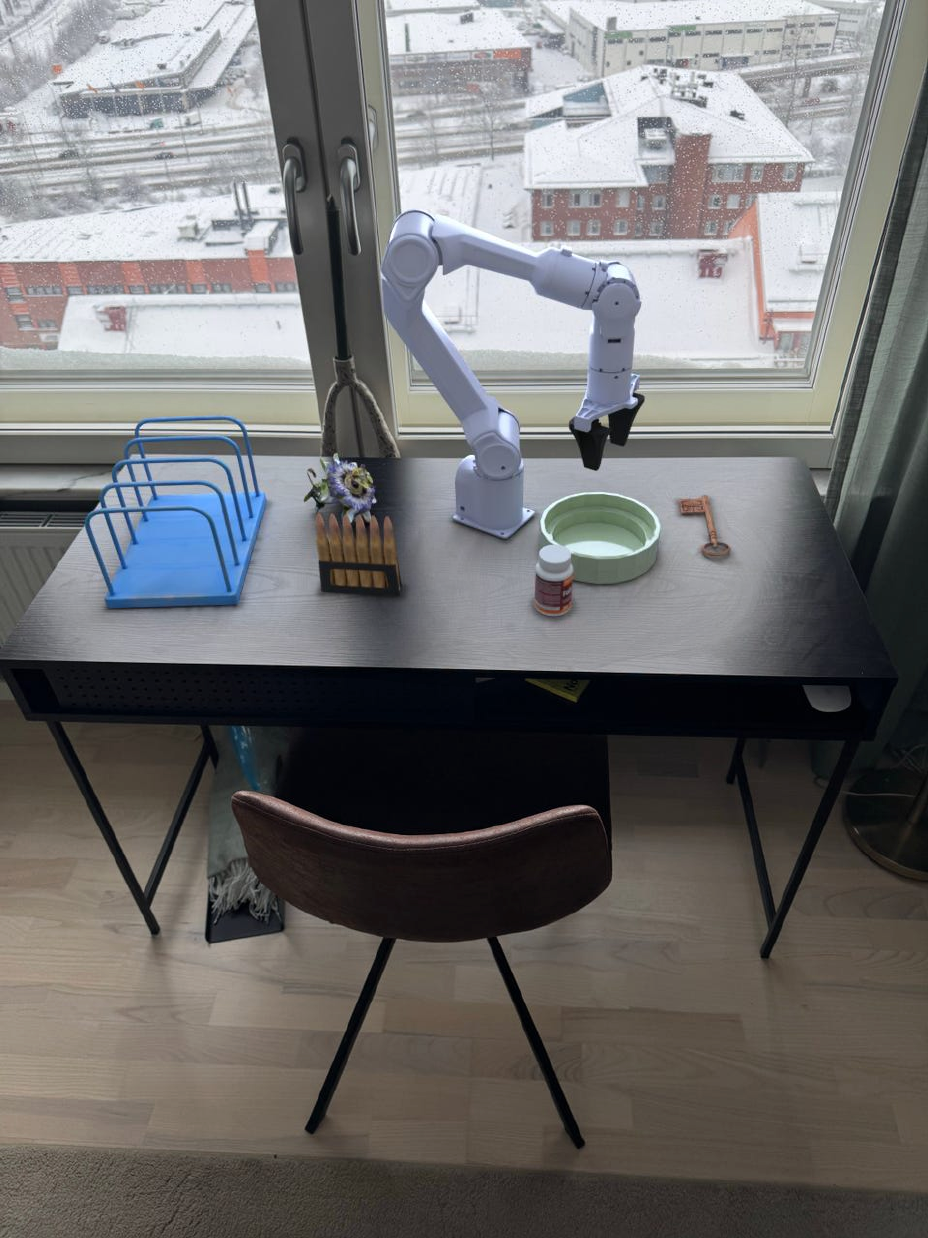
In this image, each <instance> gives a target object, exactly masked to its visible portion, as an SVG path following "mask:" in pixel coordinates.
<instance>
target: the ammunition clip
mask: <svg viewBox="0 0 928 1238" xmlns="http://www.w3.org/2000/svg"><path fill="white" fill-rule="evenodd" d="M315 516H316V515H315ZM328 522H329V523H328V530H329V537H328V534H327V529H326V524H325V520H324V518H323V517H322V514H321V513H320V512H318V514H317V516H316V517H315V531H316V532H315V533H316V549H317V550H316V551H317V556H318V561H317V562H318V570H319V571H318V572H319V573H318V574H319V581H320V592H322V593H329V594H331V593H333V594H347V595H348V594H349V595H350V594H351V595H365V596H385V597H400V596H401V593H402V591H403V583H402V578H401V577H402V575H401V571H400V570H401V569H400V564H399V563H400V562H399V557H398V551H397V543H396V540H395V534H394V528H393V524H392V521H391V518H389V516H388V515H387V516H385V517H384V522H383V541H382V538H381V533H380V527H379V523H378V519H377V518H376V517H375V515H371V521H370V523H369V539H368V536H367V531H366V527H365V522H363V519H362V517H361V516H360V515H358V517H357V521H356V525H355V533H356V535H355V536H356V540H355V536H354V532H353V527H352V523H350V520H349V518H348V516H347V515H346V514H345V515H344V517H343V521H342V538H341V533H340V527H339V524H338V523H339V522H338V521H337V518H336V516H335V514H334V513H331V514H330V515H329V519H328Z"/></svg>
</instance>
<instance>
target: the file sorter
mask: <svg viewBox="0 0 928 1238" xmlns="http://www.w3.org/2000/svg"><path fill="white" fill-rule="evenodd" d="M194 421H195V422H196V421H197V422H198V421H229V422H232V423H234V424H236V425H237V426H238V428H240V430H241V432H242V437H243V440H244V444H245V449H246V454H247V459H248V463H249V468H250V474H251V478H252V483H253V488H254V491H249V487H248V482H247V478H246V477H247V476H246V471H245V466H244V462H243V457H242V453H241V451H240V448H239V445H237V443H236V442H235V441H234V440H232V439H231V438H229V437H227V436H224V435H220V434H210V435H209V434H208V435H207V434H206V435H173V436H171V435H169V436H146V437H145V436H143V437H141V436H140V428H141V427H142V426H143V425H145V424H149V423H173V422H194ZM134 437H135V438H132V439H131V440H129V441H128V442H127V444H126V445H125V447H124V450H123V455H124V456H123V457H124V459H121V460H120V461H118V462H117V463H115V465H114V466H113V468H112V470H111V479H112V482H111V483H109V484H106V485H105V486H104V487H103V488H102V489H101V491H100V493H99V495H98V496H99V503H100V507H101V508H96V509H93V510H92V511H90V512H89V513H88V514H87V516H86V518H85V520H84V529H85V532H86V534H87V537H88V540H89V543H90V545H91V548H92V551H93V553H94V556H95V558H96V562H97V564H98V566H99V569H100V571H101V574H102V577H103V579H104V582H105V585H106V587H107V591H106V594H105V596H104V602H105V605H106V608H107V609H122V608H123V609H124V608H127V609H128V608H154V607H155V608H156V607H187V606H189V607H190V606H219V605H220V606H221V605H223V606H224V605H237V604H238V603H239V600H240V597H241V593H242V589H243V586H244V581H245V578H246V574H247V571H248V567H249V565H250V561H251V558H252V555H253V550H254V546H255V543H256V540H257V537H258V533H259V528H260V526H261V521H262V519H263V515H264V511H265V508H266V504H267V502H268V501H267V495H266V492H265V491H260V489H259V482H258V479H257V473H256V468H255V464H254V458H253V454H252V448H251V444H250V439H249V435H248V431H247V428H246V426H245V424H244V423H243V422H242V421H241V420H239V419H238V418H236V417H235V416H231V415H223V414H222V415H221V414H219V415H186V416H184V415H183V416H161V417H158V416H157V417H146V418H143V419H141V420H140V421H139V422H138V423H137V424H136V427H135V429H134ZM188 441H221V442H225V443H227V444H229V446H231V447H232V448H233V449H234V453H235V455H236V459H237V463H238V468H239V473H240V478H241V483H242V487H243V492H237V490H236V485H235V482H234V478H233V475H232V471H231V469H230V467H229V466H228V465H227V463H226V462H224V461H222V460H221V459H219V458H217V457H214V456H185V457H184V456H183V457H182V456H181V457H180V456H179V457H152V458H151V457H150V458H149V457H148V458H146V454H145V450H144V447H143V444H142V443H158V442H188ZM135 444H136V445H137V448H138V452H139V455H140V458H132V459H131V458H130V453H129V450H130V448H131V447H132V446H134V445H135ZM170 463H172V464H173V463H175V464H176V463H177V464H178V463H213V464H216V465H218V466H220V467H221V468H223V470H224V472H225V474H226V475H227V480H228V485H229V488H230V492H222V490H221V489H220V488H219V487H218V486H217V485H216V484H215V483H213V482H210V481H208V480H205V479H179V480H178V479H174V480H173V479H172V480H153V477H152V475H151V471H150V468H149V464H170ZM133 465H143V468H144V471H145V475H146V478H147V480H144V481H137V479H136V475H135V472H134V471H135V470H134V468H133ZM123 466H126V468H127V470H128V474H129V477H130V481H121V482H120V481H119V480H118V477H117V472H118V470H119V468H121V467H123ZM173 486H174V487H175V486H205V487H207V488H210V489H211V490H213V491H214V492H215V493H188V494H185V493H184V494H157V491H156V487H173ZM140 487H141V488H143V487H144V488H145V487H149V488H150V492H151V494H152V495H151V496H150V499H149V500H148V503H147V505H146V506H145V505H144V502H143V499H142V495H141V491H140ZM121 488H133V490H134V493H135V496H136V499H137V503H138V506H127V505H126V501H125V498H124V496H123V492H122V489H121ZM112 489H115V493H116V496H117V498H118V501H119V505H120V507H108V506H107V504H106V500H105V495H106V493H107V492H108V491H109V490H112ZM129 513H141V517H140V519H139V522H138V523H137V526H136V528H135V530H134V527H133V524H132V521H131V518H130V514H129ZM110 514H123V516H124V520H125V522H126V526H127V529H128V531H129V534H130V537H131V539H130V541H129V543H128V545H127V548H126V550H125V552H124V553H123V551H122V548H121V546H120V543H119V539H118V536H117V533H116V530H115V528H114V525H113V522H112V519H111V516H110ZM98 515H103V516H104V519H105V522H106V525H107V527H108V528H107V529H108V531H109V534H110V536H111V539H112V543H113V545H114V548H115V552H116V554H117V557H118V559H119V565H118V568H117V570H116V572H115V574H114V577H113V578H112V581H111V579H110V576H109V573H108V571H107V567H106V564H105V563H104V560H103V556H102V554H101V552H100V549H99V547H98V543H97V540H96V538H95V535H94V533H93V530H92V527H91V519H92V518H93V517H95V516H98Z"/></svg>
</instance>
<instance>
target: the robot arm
mask: <svg viewBox="0 0 928 1238" xmlns="http://www.w3.org/2000/svg"><path fill="white" fill-rule="evenodd" d="M388 235H389V236H388V239H387V241H386V246H385V251H384V255H383V257H382V261H381V264H380V267H379V272H380V277H381V300H382V313H383V314H384V316H385V318H386V320H387V321H388V322H389V324H390V325H391V326H392V328H393V330H394V331H395V332H396V334H397V336H398V337H399V338H400V340H401V341H402V343H403V344H404V345H405V346H406V348H407V349H408V351H409V352H410V353H411V355H412V356H413V358H414V360H416V362H417V363H418V365H419V366H420V368H421V369H422V371H424V372H423V373H425V375H427V377H428V378H429V380H430V381H431V383H432V384H433V387H435V389H436V390H437V392H438V393H439V394H440V396H441V397H442V398H443V400H444V401H445V403H446V404H447V405H448V407H449V408H450V409H451V411H452V412H453V414H454V415H455V416H456V417H455V418H457V419H458V422H460V424H461V427H462V430H463V434H464V437H465V440H466V442H467V444H468V446H469V447H470V449H471V451H472V453H473V454H470V455H467V456H466V457H464V458H463V459H462V461H461V462H460V464H459V465H458V467H457V470H456V472H455V479H454V490H455V513H456V514H454V516H453V517H452V519H453V521H454V522H457V523H461V524H463V525H466V526H468V527H471V528H474V529H476V530H479V531H482V532H485V533H488V534H490V535H493V536H495V537H498V538H501V539H504V540H507V539H509V538H510V537H511V536H512V535H514V534H515V533H516V532H517V531H518V530H520V528H521V527H522V526H524V525H525V524H526V523H527V522H528V521H529V520H531V518H533V517H534V516H535V515H536V514H535V512H536V511H534V510H532V509H530V508H527V507H524V479H525V478H524V477H525V476H524V473H525V472H524V471H525V470H524V469H525V466H524V465H525V463H524V459H523V458H522V452H521V442H520V441H521V440H520V435H521V424H520V421H519V419H518V417H517V416H516V415H515V414H514V413H513V412H512V411H510V410H508V409H506V408H505V407H503V406H502V405H501V404H500V402H499V401H498V400H497V398H496V397H494V396H491V395H489V394H488V393H487V391H486V390H485V389H484V387H483V385H482V384H481V383H480V381H479V379H478V378H477V376H476V375H475V373H474V372H473V370H472V369H471V367H470V365H468V363H467V361H466V360H465V359H464V358H463V356H462V354H461V353H460V351H459V349H458V348H457V347H456V345H455V344H454V342H453V341H452V339H451V338H450V336H449V335H448V334H447V332H446V331H445V329H444V328H443V327H442V325H441V324H440V322H439V320H438V319H437V317H436V315H434V313H433V311H432V310H431V309H430V307H429V306H428V304H427V302H426V301H425V299H424V298H425V294H426V289H427V288H428V286H429V284H430V283H431V281H432V280H433V278H434V276H435V275H436V273H437V271H438V268H439V266H442V276H446V275H448V274H451V273H453V272H454V271H457V270H459V269H461V268H463V267H464V266H472V267H476V268H479V269H483V270H486V271H489V272H494V273H497V274H501V275H505V276H509V277H512V278H515V279H519V280H524V281H527V282H529V284H530V285H531V287H532V289H533V292H534V293H535V295H537V296H540V297H543V298H545V299H549V300H552V301H555V302H557V303H560V304H561V303H562V304H564V305H567V306H569V307H570V306H571V307H573V308H576V309H580V310H582V311H591V325H590V327H589V330H588V331H589V335H588V358H587V359H588V360H587V383H586V392H585V393H584V397H583V399H582V402H581V405H580V408H579V410H578V412H576V414H575V415H574V417H572V418H570V420H569V421H568V430H569V431H570V432H571V434H572V435H573V437H574V439H575V441H576V443H577V446H578V449H579V452H580V453H579V454H580V456H581V457H580V458H581V461H582V465H583V467H584V468H585V469H588V470H591V471H594V472H598V471H599V470H600V468H601V464H602V461H603V457H604V456H603V454H604V450H605V445H606V442H607V441H608V437H609V442H610V444H612V445H615V446H619V447H625V446H626V444H627V442H628V439H629V435H630V434H631V433H630V432H631V429H632V427H633V424H634V421H635V419H636V418H637V417H636V416H637V414H638V412H639V411H640V409H641V407H643V405H644V403H645V399H646V397H645V395H643V394H641V393H638V392H636V391H638V390H639V389H640V380H641V375H640V374H635V373H633V364H634V351H635V350H634V347H635V338H636V337H635V336H636V329H635V323H636V317H637V316H638V314H639V312H640V310H641V307H642V301H641V297H640V296H641V295H640V291H639V287H638V284H637V281H636V279H635V276H634V274H633V273H632V271H631V270H630V269H629V268H628V267H627V266H626V265H624V264H622V263H620V262H619V261H618V260H609V261H607V260H605V259H600V260H599V261H595V260H592V259H590V258H586V257H584V256H580V255H577V254H574V253H573V248H572V247H570V246H568V245H565V244H562V245H561V246H560V248H556V247H553V246H550V247H547V248H545V249H543V250H541V251H538V252H535V251H533V250H530V249H528V248H525V247H522V246H520V245H517V244H515V243H513V242H510V241H507V240H504V239H502V238H499V237H497V236H495V235H492V234H489V233H487V232H484V231H482V230H479V229H477V228H474V227H472V226H469V225H466V224H463V223H462V222H459V221H458V220H455V219H453V218H451V217H448V216H446V215H443V214H434V215H432V214H431V213H430V212H428V211H426V210H423V209H419V208H411V209H408V210H405V211H403V212H401V213H400V214H399V215H398V216H396V218H395V219H394V221H393V223H392V226H391V229H390V232H389V234H388ZM605 416H607V419H608V426H605V425H603V424H602V422H600V418H604V417H605Z"/></svg>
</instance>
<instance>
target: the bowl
mask: <svg viewBox="0 0 928 1238" xmlns="http://www.w3.org/2000/svg"><path fill="white" fill-rule="evenodd" d="M661 530H662V527H661V523H660V520H659V516H657V514H656V513H655V512H654V511H653V510H652V509H651V508H650V507H649V506H647V505H645V504H644V503H643V502H640V500H637V499H635V498H632V497H629V496H625V495H622V494H619V493H613V492H605V491H591V492H589V491H588V492H586V491H585V492H580V493H574V494H571V495H566V496H565V497H562V498H559V499H557V500H556V501H553V502H552V503H551V504H550V505H549V506H548V507H547V508H545V510H543V513H542V515H541V517H540V520H539V539H538V540H539V542H538V545H539V551H540V550H541V549H542V548H543V547H545V546H548V545H561V546H564V547H566V548H568V549H569V550H570V552H571V564H572V566H573V571H574V572H573V581H576V582H582V583H589V584H595V585H598V584H599V585H602V584H605V585H606V584H619V583H622V582H627V581H631V580H634V579H637V578H638V577H640V576H643V574H645V573H648V571H649V570H650V569H651V568H652V567H653V566H654V564H655V563H656V560H657V557H658V554H659V553H658V552H659V546H660V538H661Z"/></svg>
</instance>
